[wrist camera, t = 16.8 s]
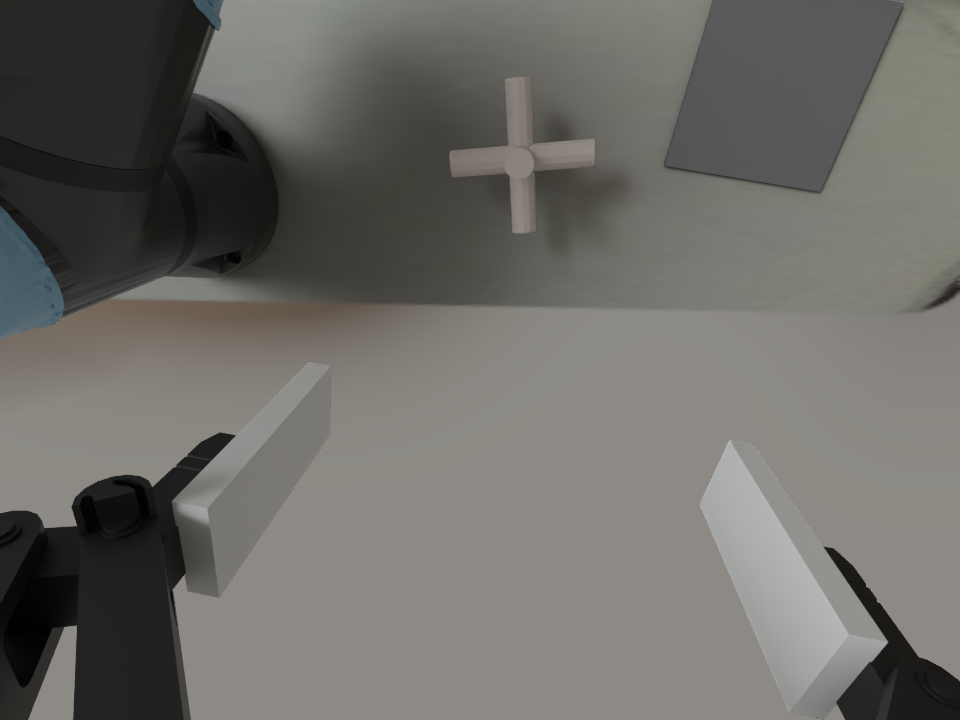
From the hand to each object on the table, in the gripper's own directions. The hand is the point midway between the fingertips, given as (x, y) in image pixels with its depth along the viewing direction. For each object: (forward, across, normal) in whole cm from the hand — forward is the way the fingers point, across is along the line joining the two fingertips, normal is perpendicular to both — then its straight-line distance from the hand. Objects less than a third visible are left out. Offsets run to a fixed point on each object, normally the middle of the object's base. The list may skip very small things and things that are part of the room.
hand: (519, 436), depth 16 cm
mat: (+29, +15, +14) cm, 35 cm away
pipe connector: (+29, -2, +7) cm, 30 cm away
